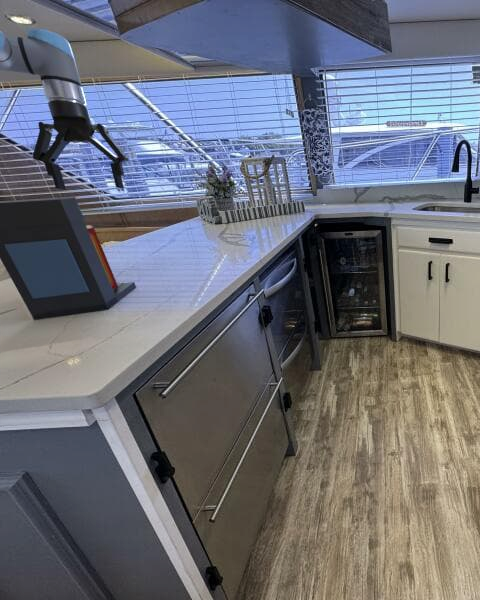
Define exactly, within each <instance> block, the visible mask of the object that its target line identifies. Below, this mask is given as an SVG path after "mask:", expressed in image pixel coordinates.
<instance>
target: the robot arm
mask: <svg viewBox="0 0 480 600" xmlns="http://www.w3.org/2000/svg"><path fill="white" fill-rule="evenodd" d="M26 33H27V37H20V36H16V35H15V36H14V35H10V34H6V33H2V31H1V30H0V71H7V72H14V73H20V74H21V73H22V74H27V75H33V76H39V77H40V81H41V84H42V88H43V92H44V95H45V96H44V97H45V99H46V100H48V102H47V106H48V109H49V112H50V115H51V118H52V120H53V122H52V123H46V122H44V121H39V122H38V123H37V125H38V131H39V132H38V135H37V139H36V142H35V146H34V150H33V154H32V159H33V160H35V161H38V162H42V163H43V164H44V167H45V170H46V173H47V175H48V176H49V177H52V180H53V183H54V187H55V189H56V190H67V188H66V185H65V181H64V177H63V173H62V171H61V168H60V164H59V163H56V161H57V160H58V159H59V157H60V156H61V154H62V153H63V151H64V150H65V148H66V147H67V146H68V145H70V143H73V144H78V143H82V144H88V143H90V144H92V146H94V147H95V148H96V149H97V150H99V151H100V152H101V153H102V154H103V155H105V156H106V157H107V158H108V159H109V160H111V162H109V166H110V169H111V172H112V173H111V174H112V177H113V181H114V185H115V188H116V189H125V187H124V182H123V179H122V177H123V176H125V172H124V171H125V170H124V167H123V163H126V162H127V163H128V162H129V161H130V159H129V157H128V156H127V155H126V154H125V152H124V151H123V149H122V148H121V147H120V146H119V145H118V143H117V142H116V140H114V138H113V137H112V136H111V134H110V132H109V129H108V127H107V126H106V125H104V124H102V123H97V124H94V125H93V124H92V120H91V116H90V112H89V109H88V107H87V106H86V105H87V101H86V97H85V94H84V90H83V86H82V81H81V78H80V74H79V70H78V66H77V63H76V59H75V56H74V53H73V50H72V46H71V44H70V42H69V41H68V40H67V38H65V37H64V36H62V35H61V34H58V33H56V32H55V31H54V32H53V31H51V30H47V29H43V28H39V29H37V28H30V29H28V30H27V32H26ZM55 131H56V132H57V134H56V136H55V137H54V141H52V137H53V133H55ZM95 132H96V133H98V134H100V136H101V137H102V139H103V140H104V141H105V142H106V143H107V145H108V146H109V147H110V148H111V150H112V151H113V152H114V153H115V154H114V153H113V152H112V151H111V150H110V149H108V148H107V147H106V146H105V145H103V144H102V143H101V142H100V141H99V140H98V139H97V138H96V137H95V136H94V134H95ZM51 141H52V144H51ZM50 144H51V145H50Z"/></svg>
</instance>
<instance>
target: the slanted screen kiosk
mask: <svg viewBox="0 0 480 600" xmlns="http://www.w3.org/2000/svg"><path fill="white" fill-rule="evenodd" d="M85 220H86V219H85V217H84V214H83V213H82V210H81V208H80V205H79V203H78V200H77V197H75V196H72V197H71V196H70V197H55V198H53V197H52V198H38V199H20V200H2V201H1V200H0V261H1V263H2V264H3V266H4V268H5V270H6V272H7V273H8V276H9V277H10V279H11V281H12V283H13V284H14V286H15V289H16V290H17V291H18V294H19V295H20V297H21V299H22V301H23V302H24V304H25V307H26V308H27V310H28V312H29V314H30V316H31V318H32V319H33V321H36V320H43V319H50V318H56V317H57V318H58V317H64V316H65V317H66V316H72V315H79V314H85V313H86V314H87V313H93V312H100V311H108V310H110V309H111V308H112V307H114V306H115V305H116V304H118V303H119V302H120V301H121V300H123V298H125V297H126V296H127V295H128V294H130V293H131V292H132V291H133V290H135V289H136V288H137V285H136V283H135V282H134V281H131V282H124V281H118V282H117V281H116V282H117V285H118V287H119V288H116V289H113V288H112V286H111V284H110V281H109V279H108V276H107V274H106V272H105V269H104V267H103V265H102V262H101V260H100V258H99V255H98V253H97V251H96V248H95V246H94V244H93V241H92V239H91V236H90V234H89V232H88V229H87V227H86V226H87V225H86V222H85Z"/></svg>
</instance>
